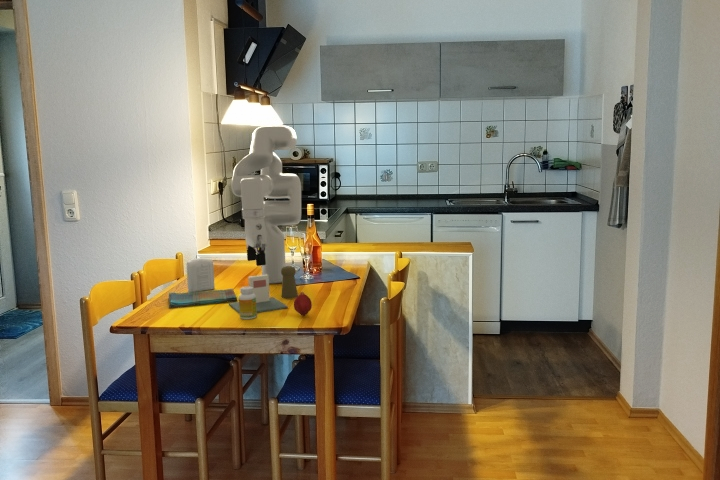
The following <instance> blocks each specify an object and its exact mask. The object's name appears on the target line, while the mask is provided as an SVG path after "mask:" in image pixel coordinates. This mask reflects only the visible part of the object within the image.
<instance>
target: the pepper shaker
mask: <svg viewBox="0 0 720 480" xmlns="http://www.w3.org/2000/svg"><path fill="white" fill-rule="evenodd" d="M295 269H296V268H295V267H294V266H292V265H287V266H285V267H283V268H282V269H281V274H282V276H283V281H282V284H281V297H280V298H281V299H284V300H285V299H286V300H287V299H288V300H290V299H296V297H297V296H298V295H299V293H298V290H297V283H296V278H295V275H296V274H297V273H296V270H295ZM295 273H296V274H295Z"/></svg>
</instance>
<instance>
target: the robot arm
mask: <svg viewBox="0 0 720 480" xmlns="http://www.w3.org/2000/svg"><path fill="white" fill-rule="evenodd" d="M297 140H298V139H297V134H296V131H295V129H294V128H292V127H290V126H287V125H266V126H265V125H263V126H259V127H257V128H256V129H254V131H253V132H252V135H251V143H250V149H249V154H247V155H246V156H244V157H243V158H242V159H241V160H239V162H237V163H236V165H235V167H234V168H233V173H232V178H231V183H230V184H231V187H230V189H231V192H232V194H233V195H235V197H239V198H240V199H241V213H242V219H243V220H244V238H245V239H244V240H245V244H246V257H247V258H246V259H247V261H248V262H250V261H255V265H256V266H257V267H261V275H266V274H267V275H268V278H269V285H270V284H273V285H274V284H281V283H282V281H283V276H282V274H281V269H282V268H283V267H285V266H286V265H287V264H286V263H287V262H286V247H285V234H284V233H283V231H282V230H281V229H280V228H279V227H278V226H293V225H298V224H299V223H300V222H301V219H302V183H301V179H300V177H299V176H298V175H297V174H295V173H283V163H282V160H281V159H280V157H279V156H278V155H277V154H276V153H275V152H274V151H289V150H294V149H295V147H296V146H297ZM258 171H260V174H252V173H255V172H258ZM265 198H266V199H288V200H266V201H265ZM295 270H296V273H295V275H296V274H298V273H299V270H298V268H295Z"/></svg>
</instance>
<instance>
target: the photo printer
mask: <svg viewBox="0 0 720 480" xmlns="http://www.w3.org/2000/svg"><path fill="white" fill-rule="evenodd" d="M213 261H214V260H213V259H212V258H208V257H197V258H193V259H190V260H188V261H187V262H186V279H187V291H188V292H187V293H191V292H199V291H212V290H215V287H216V286H215V285H216V284H215V272H214V271H215V270H214V262H213Z"/></svg>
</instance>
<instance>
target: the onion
mask: <svg viewBox="0 0 720 480" xmlns="http://www.w3.org/2000/svg"><path fill="white" fill-rule="evenodd" d="M312 306H313V304H312V299H311V298H310V297H309V296H308V295H307V294H305V292H303V291H301V292H300V293H299V294H298V296H297V297H296V298H294V301H293V309H294V310H295V312H296V313H298V314H299V315H300V316H301V317H305V316H306V315H307V314H308V313H309V312H310V311H311V309H312Z"/></svg>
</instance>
